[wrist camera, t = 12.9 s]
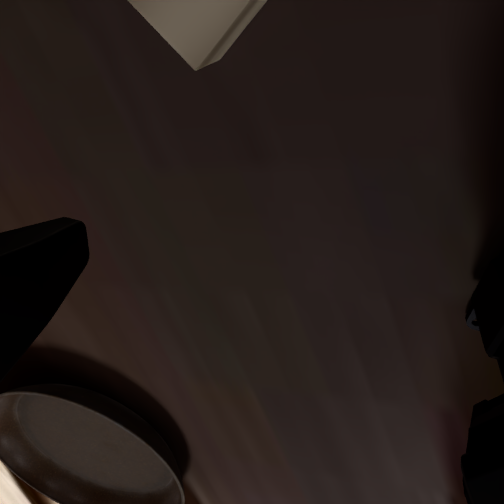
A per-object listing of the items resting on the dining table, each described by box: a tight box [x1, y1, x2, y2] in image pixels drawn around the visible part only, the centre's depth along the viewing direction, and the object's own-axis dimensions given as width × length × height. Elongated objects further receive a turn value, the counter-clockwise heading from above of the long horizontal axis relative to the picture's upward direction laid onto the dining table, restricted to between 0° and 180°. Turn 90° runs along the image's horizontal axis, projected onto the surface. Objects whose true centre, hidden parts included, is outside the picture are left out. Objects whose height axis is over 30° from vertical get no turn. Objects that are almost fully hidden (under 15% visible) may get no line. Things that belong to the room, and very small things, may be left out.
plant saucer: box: [0, 384, 185, 504], centre depth 40 cm, size 21×21×3 cm
